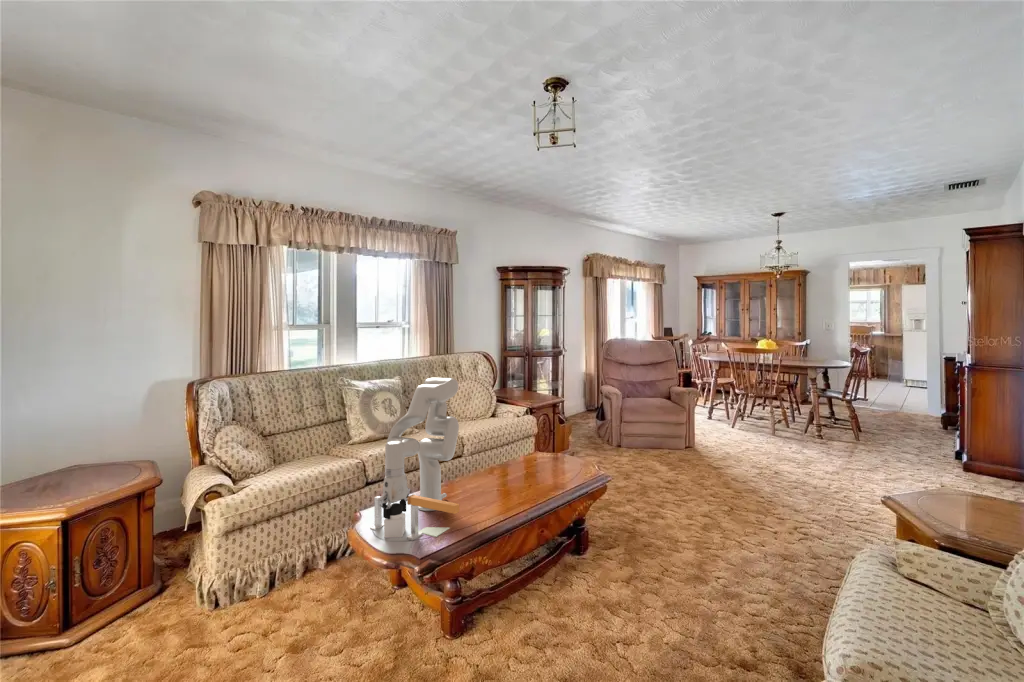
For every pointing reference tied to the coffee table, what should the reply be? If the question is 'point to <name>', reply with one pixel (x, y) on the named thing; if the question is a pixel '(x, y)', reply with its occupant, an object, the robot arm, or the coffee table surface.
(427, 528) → the coaster
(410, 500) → the bar
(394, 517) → the medicine bottle
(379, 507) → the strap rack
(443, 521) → the coffee table surface
